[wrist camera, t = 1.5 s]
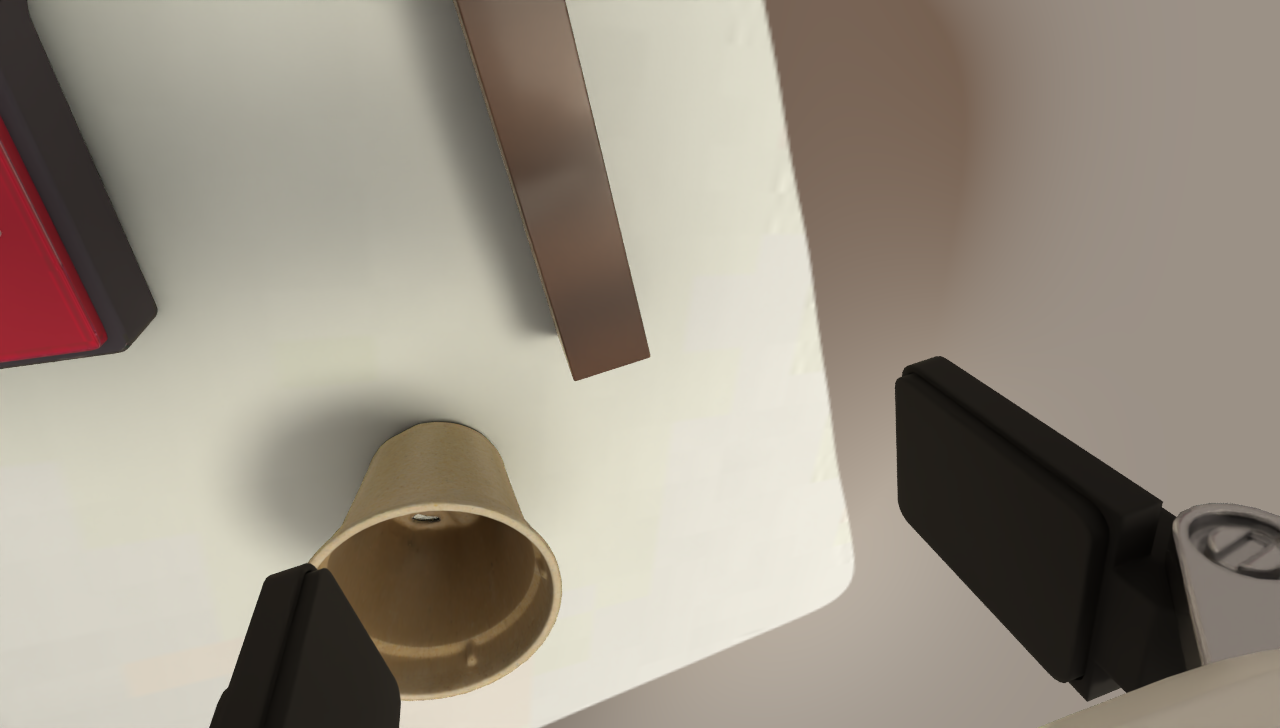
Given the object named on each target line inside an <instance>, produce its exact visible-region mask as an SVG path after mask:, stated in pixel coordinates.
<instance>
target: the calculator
mask: <svg viewBox="0 0 1280 728" xmlns="http://www.w3.org/2000/svg"><path fill="white" fill-rule="evenodd" d="M156 315H157V307H156V305H155V302H154V300H153V298H152V295H151V293H150V291H149V289H148V286H147V284H146V282H145V279H144V277H143V275H142V273H141V270H140V268H139V266H138V263H137V261H136V259H135V257H134V254H133V252H132V250H131V247H130V245H129V243H128V241H127V238H126V236H125V234H124V231H123V229H122V227H121V225H120V222H119V220H118V218H117V215H116V213H115V211H114V209H113V206H112V204H111V202H110V200H109V197H108V195H107V193H106V190H105V188H104V186H103V184H102V181H101V179H100V177H99V174H98V172H97V170H96V168H95V165H94V163H93V161H92V158H91V156H90V154H89V152H88V149H87V147H86V145H85V142H84V140H83V138H82V136H81V133H80V131H79V129H78V126H77V124H76V122H75V120H74V117H73V115H72V113H71V110H70V108H69V106H68V104H67V101H66V99H65V97H64V94H63V92H62V90H61V88H60V85H59V83H58V81H57V78H56V76H55V74H54V72H53V69H52V67H51V65H50V62H49V60H48V58H47V56H46V53H45V51H44V49H43V46H42V44H41V42H40V40H39V37H38V35H37V33H36V30H35V28H34V26H33V24H32V21H31V19H30V16H29V12H28V5H27V0H0V369H4V368H11V367H18V366H26V365H33V364H41V363H48V362H55V361H63V360H70V359H77V358H85V357H92V356H99V355H107V354H114V353H119V352H123V351H125V350H127V349H128V348H129V347H130V346H131V345H132V343H133V342H134V341H135V340H136V339H137V338H138V336H139V335H140V334H141V333H142V332H143V331H144V329H145V328H146V327H147V326H148V325H149V324H150V322H151V321H152V320H153V319H154V318H155V316H156Z"/></svg>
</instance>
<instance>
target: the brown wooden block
mask: <svg viewBox="0 0 1280 728" xmlns="http://www.w3.org/2000/svg"><path fill="white" fill-rule="evenodd" d="M453 2H454V5H455V9H456V12H457V15H458V18H459V21H460V24H461V28H462V31H463V34H464V37H465V40H466V44H467V47H468V50H469V53H470V56H471V60H472V63H473V66H474V69H475V72H476V76H477V79H478V82H479V85H480V88H481V92H482V95H483V98H484V101H485V104H486V108H487V111H488V114H489V117H490V120H491V124H492V127H493V130H494V133H495V136H496V140H497V143H498V146H499V149H500V152H501V156H502V159H503V162H504V165H505V168H506V171H507V175H508V178H509V181H510V184H511V187H512V191H513V194H514V197H515V200H516V203H517V207H518V210H519V213H520V216H521V219H522V223H523V226H524V229H525V232H526V235H527V239H528V242H529V245H530V248H531V251H532V255H533V258H534V261H535V264H536V267H537V271H538V274H539V277H540V280H541V283H542V287H543V290H544V293H545V296H546V299H547V303H548V306H549V309H550V312H551V315H552V318H553V322H554V325H555V328H556V331H557V334H558V337H559V340H560V343H561V346H562V349H563V351H564V354H565V357H566V360H567V363H568V365H569V368H570V371H571V374H572V377H573V379H574V381H578V380H581V379H584V378H587V377H590V376H593V375H596V374H600V373H603V372H606V371H609V370H612V369H615V368H618V367H621V366H624V365H628V364H631V363H634V362H637V361H640V360H643V359H646V358H649V357H650V352H649V347H648V343H647V339H646V335H645V331H644V327H643V322H642V318H641V314H640V310H639V306H638V302H637V297H636V293H635V289H634V285H633V281H632V277H631V272H630V268H629V264H628V260H627V256H626V252H625V248H624V243H623V239H622V235H621V231H620V227H619V223H618V218H617V214H616V210H615V206H614V202H613V198H612V193H611V189H610V185H609V181H608V177H607V173H606V168H605V164H604V160H603V156H602V152H601V148H600V143H599V139H598V135H597V131H596V127H595V123H594V118H593V114H592V110H591V106H590V102H589V98H588V93H587V89H586V85H585V81H584V77H583V73H582V68H581V64H580V60H579V56H578V52H577V48H576V43H575V39H574V35H573V31H572V27H571V23H570V18H569V14H568V10H567V6H566V2H565V0H453Z"/></svg>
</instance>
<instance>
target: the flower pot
mask: <svg viewBox="0 0 1280 728" xmlns="http://www.w3.org/2000/svg"><path fill="white" fill-rule="evenodd" d="M416 514H422V515H425V516H434V517H439V518H440V521H432V522H431V521H429V522H428V521H418V520H415V519H413V518H412V517H414V516H415V515H416ZM308 563H311V564H312V565H314V566H315V567H316V568H317V570H319V569H322V568H327V569H328V570H329V571H330V572H331V573H332V575H333V576H334V578H335V580H336V581H337V583H338V585H339V586H340V588H341V589H342V591H343V593H344V594H345V596H346V598H347V599H348V601H349V603H350V604H351V606H352V608H353V609H354V611H355V613H356V614H357V616H358V618H359V619H360V621H361V623H362V624H363V626H364V628H365V629H366V631H367V633H368V634H369V636H370V638H371V639H372V641H373V643H374V644H375V646H376V647H377V649H378V651H379V652H380V654H381V656H382V657H383V659H384V661H385V662H386V664H387V666H388V667H389V669H390V671H391V672H392V674H393V676H394V677H395V679H396V681H397V684H398V687H399V692H400V699H401V700H403V701H414V700H432V699H440V698H447V697H452V696H456V695H460V694H465V693H468V692H471V691H473V690H476V689H478V688H481V687H483V686H486V685H489V684H491V683H493V682H495V681H496V680H498V679H501V678H502V677H504V676H506V675H507V674H509V673H511V672H512V671H513V670H515V669H516V668H517V667H519V666H520V665H521V664H522V663H524V662H526V661H527V660H528V659H529V658H530V657H531V656H532V655H533V654H534V653H535V652H536V651H537V650H538V648H539V647H540V646H541V645H542V644H543V642H544V641H545V640H546V638H547V637H548V635H549V633H550V631H551V629H552V627H553V625H554V624H555V622H556V618H557V615H558V612H559V608H560V604H561V597H562V581H561V576H560V571H559V568H558V564H557V561H556V558H555V556H554V554H553V552H552V551H551V549H550V547H549V546H548V544H547V543H546V541H545V540H544V539H543V538H542V537H541V536H540V535H539V534H538V533H537V532H536V531H535V530H534V529H533V528H532V527H531V526H530V525H529V524H528V522H527V521H526V520H525V519H524V517H523V515H522V512H521V510H520V507H519V505H518V502H517V499H516V497H515V494H514V491H513V489H512V486H511V484H510V481H509V478H508V475H507V473H506V470H505V467H504V463H503V460H502V458H501V456H500V454H499V452H498V451H497V449H496V448H495V447H494V446H493V445H492V444H491V442H490V441H489V440H488V439H487V438H486V437H485V436H483V435H482V434H481V433H479V432H477V431H475V430H473V429H471V428H468V427H466V426H463V425H459V424H455V423H447V422H430V423H422V424H418V425H415V426H413V427H411V428H409V429H407V430H405V431H403V432H402V433H400V434H398V435H396V436H394V437H392V438H391V439H389V440H387V441H386V442H385V443H384V444H383V445H382V446H381V447H380V448H379V449H378V451H377V452H376V454H375V455H374V457H373V458H372V460H371V463H370V465H369V468H368V471H367V473H366V475H365V477H364V479H363V481H362V484H361V486H360V488H359V490H358V492H357V495H356V497H355V499H354V501H353V503H352V505H351V507H350V509H349V512H348V514H347V516H346V518H345V520H344V522H343V524H342V526H341V527H340V528H339V529H338V530H337V531H336V533H335V534H334V535H333V536H332V537H331V538H330V539H329V540H328V541H327V542H326V543H325V544H324V545H323V546H322V547H321V548H320V549H319V550H318V551H317V552H316V553H315V554H314V556H313V557H312V558H311V560H310V561H309V562H308Z"/></svg>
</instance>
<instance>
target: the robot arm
mask: <svg viewBox="0 0 1280 728" xmlns="http://www.w3.org/2000/svg"><path fill="white" fill-rule="evenodd" d="M895 402H896V404H895V405H896V443H897V444H896V445H897V486H898V504H899V507H900V510H901V512H902V515H903V516H904V518H905V519H906V521H907V522H908V523H909V524H910V525H911V526H912V527H913V528H914V530H916V532H917V533H918V534H919V535H920V536H921V537H922V538H923V539H924V540H925V541H926V542H927V543H928V545H929V546H930V547H931V548H932V549H933V550H934V551H935V552H936V553H937V554H938V555H939V556H940V557H941V558H942V560H943V561H944V562H946V564H947V565H948V566H949V567H950V568H951V569H952V570H953V571H954V572H955V573H956V575H957V576H959V578H960V579H961V580H962V581H963V582H964V583H965V584H966V585H967V586H968V587H969V588H970V589H971V591H972V592H973V593H974V594H975V595H976V596H977V597H978V598H979V599H980V600H981V601H982V602H983V603H984V605H985V606H986V607H987V608H988V609H989V610H990V611H991V612H992V613H993V614H994V615H995V616H996V617H997V618H998V619H999V621H1000V622H1001V623H1002V624H1003V625H1004V626H1005V627H1006V628H1007V629H1008V630H1009V631H1010V632H1011V634H1013V636H1014V637H1015V638H1016V639H1017V640H1018V641H1019V642H1020V643H1021V644H1022V645H1023V646H1024V647H1025V648H1026V650H1027V651H1028V652H1029V653H1030V654H1031V655H1032V656H1033V657H1034V658H1035V659H1036V660H1037V661H1038V662H1039V664H1040V665H1042V667H1043V668H1044V669H1045V670H1046V671H1047V672H1048V673H1049V674H1050V675H1051V676H1052V677H1053V678H1054V679H1056V680H1058V681H1059V682H1062V683H1066V682H1069V683H1070V684H1071V685H1072V686H1073V687H1074V688H1075V689H1076V690H1077V692H1079V693H1080V695H1081V696H1083V698H1084V699H1085V700H1086V701H1090V700H1092V699H1095V698H1097V697H1100V696H1102V695H1105V694H1107V693H1109V692H1112V691H1114V690H1117V689H1119V688H1122V689H1123V690H1124V691H1125V692H1126V694H1123V695H1120V696H1118V697H1115V698H1113V699H1110V700H1107V701H1105V702H1102V703H1100V704H1097V705H1094V706H1092V707H1089V708H1087V709H1084V710H1081V711H1079V712H1076V713H1074V714H1071V715H1068V716H1066V717H1063V718H1061V719H1058V720H1056V721H1053V722H1051V723H1048V724H1046V725H1044V726H1041V727H1039V728H1280V516H1278V515H1275V514H1272V513H1269V512H1266V511H1263V510H1260V509H1257V508H1253V507H1248V506H1243V505H1237V504H1228V503H1225V504H1224V503H1209V504H1203V505H1196V506H1193V507H1191V508H1189V509H1187V510H1185V511H1183V512H1181V513H1180V514H1179V515H1178V516H1177V517H1176V516H1174V515H1173V514H1171V513H1170V512H1168V511H1167V510H1165V509H1164V508H1162V503H1163V502H1162V501H1161V500H1160V499H1158V498H1157V497H1155V496H1154V495H1152V494H1151V493H1149V492H1148V491H1146V490H1144V489H1143V488H1142V487H1140V486H1139V485H1137V484H1135V483H1134V482H1132V481H1131V480H1129V479H1128V478H1126V477H1125V476H1123V475H1122V474H1120V473H1119V472H1117V471H1116V470H1114V469H1113V468H1111V467H1110V466H1108V465H1107V464H1105V463H1104V462H1102V461H1101V460H1099V459H1098V458H1096V457H1095V456H1093V455H1091V454H1090V453H1088V452H1087V451H1085V450H1084V449H1082V448H1081V447H1079V446H1078V445H1076V444H1075V443H1073V442H1072V441H1070V440H1069V439H1067V438H1066V437H1064V436H1063V435H1061V434H1059V433H1058V432H1057V431H1055V430H1053V429H1052V428H1051V427H1049V426H1048V425H1046V424H1044V423H1043V422H1041V421H1040V420H1038V419H1037V418H1035V417H1034V416H1032V415H1031V414H1029V413H1028V412H1026V411H1025V410H1023V409H1022V408H1020V407H1019V406H1017V405H1016V404H1014V403H1013V402H1011V401H1010V400H1008V399H1006V398H1005V397H1004V396H1002V395H1000V394H999V393H997V392H996V391H994V390H993V389H991V388H990V387H988V386H987V385H985V384H984V383H982V382H980V381H979V380H978V379H976V378H975V377H973V376H972V375H970V374H969V373H967V372H966V371H964V370H963V369H961V368H960V367H958V366H956V365H955V364H953V363H952V362H950V361H949V360H947V359H946V358H944V357H941V356H939V357H938V356H936V357H934V358H930V359H927V360H924V361H921V362H918V363H915V364H912V365H909V366H907V367H905V368H904V370H903V372H902V377H900V378H898V379H897V381H896V383H895ZM400 707H401V699H400V692H399V687H398V684H397V681H396V679H395V677H394V676H393V674H392V672H391V671H390V669H389V667H388V666H387V664H386V662H385V661H384V659H383V657H382V656H381V654H380V652H379V651H378V649H377V647H376V646H375V644H374V643H373V641H372V639H371V638H370V636H369V634H368V633H367V631H366V629H365V628H364V626H363V624H362V623H361V621H360V619H359V618H358V616H357V614H356V613H355V611H354V609H353V608H352V606H351V604H350V603H349V601H348V599H347V598H346V596H345V594H344V593H343V591H342V589H341V588H340V586H339V585H338V583H337V581H336V580H335V578H334V576H333V575H332V573H331V572H330V571H329V570H328V569H327V568H322V569H319V570H317V568H316V567H315V566H314V565H312V564H311V563H306V564H303V565H300V566H297V567H294V568H291V569H288V570H284V571H281V572H278V573H275V574H272V575H270V576H268V577H267V578H266V580H265V581H264V583H263V586H262V589H261V592H260V595H259V598H258V601H257V604H256V607H255V610H254V613H253V616H252V619H251V622H250V625H249V628H248V631H247V633H246V636H245V639H244V642H243V645H242V648H241V651H240V654H239V657H238V660H237V663H236V666H235V669H234V672H233V675H232V678H231V681H230V684H229V687H228V688H227V689H226V690H225V691H224V692H223V694H222V696H221V698H220V700H219V702H218V704H217V707H216V710H215V713H214V715H213V718H212V721H211V724H210V727H209V728H399V721H400Z"/></svg>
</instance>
